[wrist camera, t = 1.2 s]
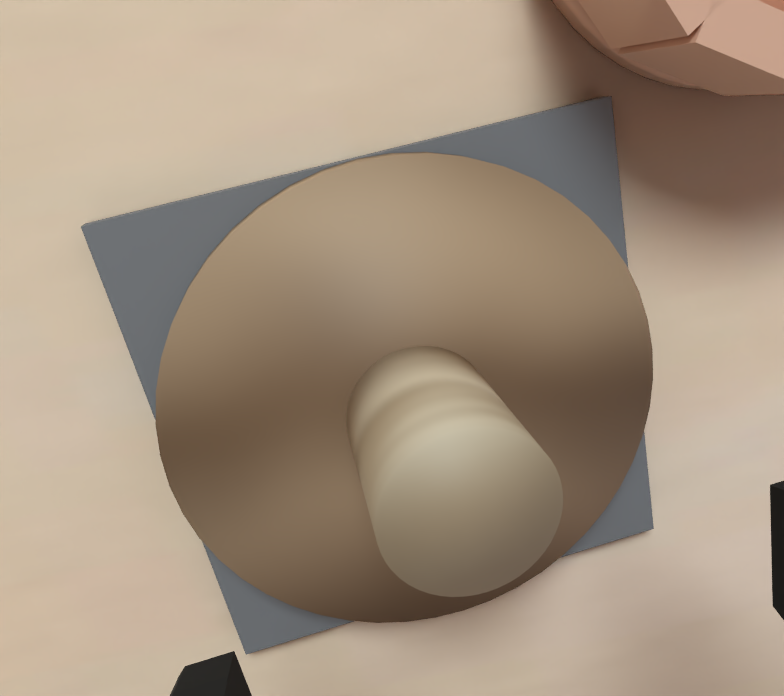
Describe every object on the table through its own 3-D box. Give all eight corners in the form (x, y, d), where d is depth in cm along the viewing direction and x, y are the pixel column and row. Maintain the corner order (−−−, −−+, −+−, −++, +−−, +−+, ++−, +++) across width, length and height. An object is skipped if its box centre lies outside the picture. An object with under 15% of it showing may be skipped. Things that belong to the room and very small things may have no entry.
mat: (645, 520, 19) (653, 528, 18) (245, 642, 18) (246, 654, 17) (602, 96, 15) (611, 96, 14) (86, 223, 14) (80, 226, 13)
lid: (652, 528, 18) (779, 664, 14) (245, 653, 17) (240, 844, 13) (611, 96, 14) (769, 90, 10) (81, 226, 13) (-10, 285, 9)
